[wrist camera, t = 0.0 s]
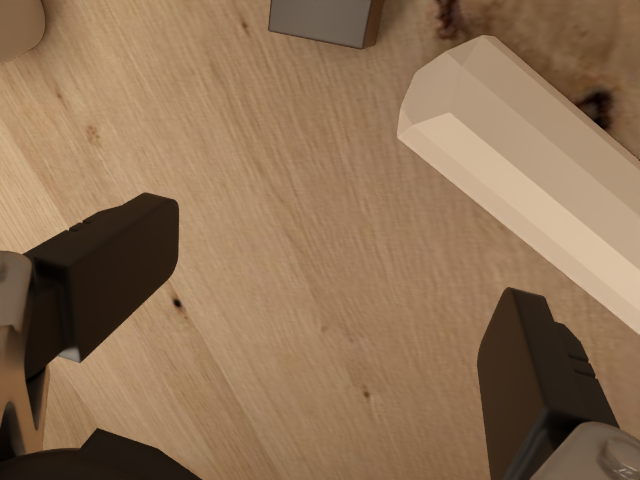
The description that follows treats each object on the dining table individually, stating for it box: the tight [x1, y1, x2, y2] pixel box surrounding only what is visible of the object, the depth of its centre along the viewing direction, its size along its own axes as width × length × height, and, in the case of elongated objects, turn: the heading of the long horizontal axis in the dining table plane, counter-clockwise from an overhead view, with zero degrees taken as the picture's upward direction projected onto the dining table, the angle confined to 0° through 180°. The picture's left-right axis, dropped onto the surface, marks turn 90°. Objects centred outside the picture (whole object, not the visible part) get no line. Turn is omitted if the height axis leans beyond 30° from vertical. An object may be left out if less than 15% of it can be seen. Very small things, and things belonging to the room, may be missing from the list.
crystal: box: [397, 35, 640, 335], centre depth 25 cm, size 7×7×24 cm
